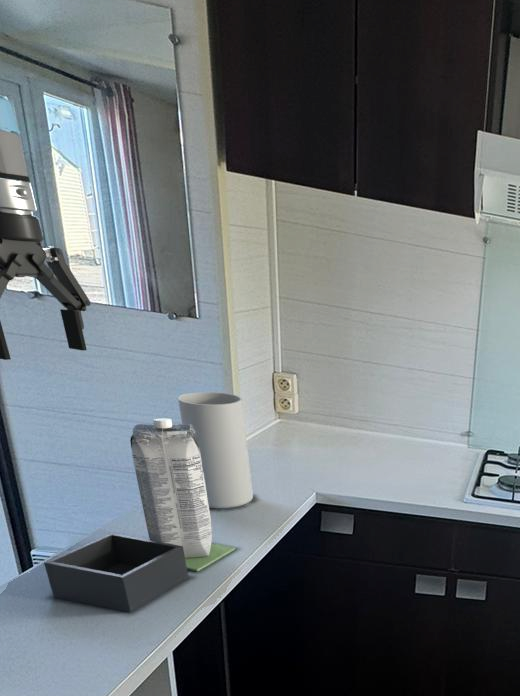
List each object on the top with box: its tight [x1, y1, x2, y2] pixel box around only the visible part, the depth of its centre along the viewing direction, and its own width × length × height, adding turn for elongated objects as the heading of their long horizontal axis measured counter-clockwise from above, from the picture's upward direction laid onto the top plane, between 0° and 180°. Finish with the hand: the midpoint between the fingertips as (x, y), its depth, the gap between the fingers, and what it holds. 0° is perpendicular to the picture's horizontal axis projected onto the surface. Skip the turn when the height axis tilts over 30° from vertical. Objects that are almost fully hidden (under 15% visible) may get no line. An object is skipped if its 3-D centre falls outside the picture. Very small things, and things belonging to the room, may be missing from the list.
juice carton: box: [129, 417, 213, 558], centre depth 122 cm, size 9×10×27 cm
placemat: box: [185, 542, 236, 572], centre depth 128 cm, size 14×11×1 cm
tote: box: [43, 532, 190, 613], centre depth 113 cm, size 15×14×7 cm
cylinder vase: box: [177, 391, 254, 509], centre depth 149 cm, size 12×12×25 cm
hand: (41, 353), depth 105 cm, fingers open, 13 cm apart
